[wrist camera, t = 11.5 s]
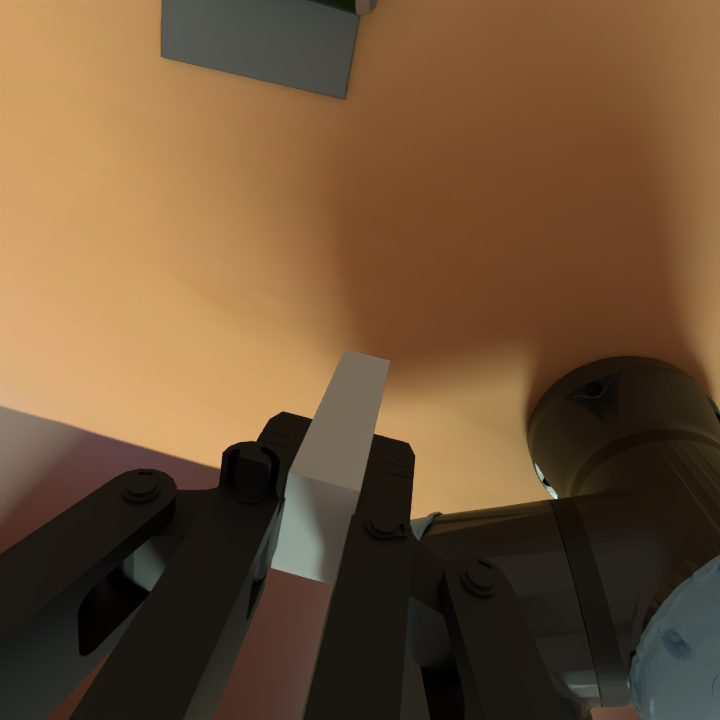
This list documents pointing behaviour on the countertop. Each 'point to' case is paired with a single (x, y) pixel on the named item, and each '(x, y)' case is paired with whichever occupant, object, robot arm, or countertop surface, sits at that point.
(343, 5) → the green soda can
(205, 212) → the countertop surface
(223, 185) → the countertop surface
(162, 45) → the rubber mat
